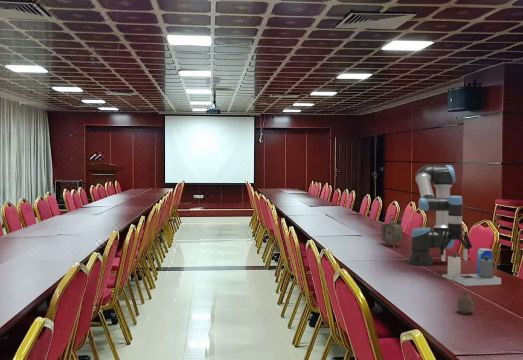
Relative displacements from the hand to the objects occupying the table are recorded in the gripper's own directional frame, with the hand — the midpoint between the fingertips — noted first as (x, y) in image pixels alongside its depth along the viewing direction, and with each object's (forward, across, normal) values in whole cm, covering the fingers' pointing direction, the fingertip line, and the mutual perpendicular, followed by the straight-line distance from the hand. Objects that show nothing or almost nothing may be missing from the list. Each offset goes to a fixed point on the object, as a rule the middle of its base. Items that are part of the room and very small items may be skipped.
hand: (454, 260), depth 277 cm
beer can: (+11, +21, +4) cm, 24 cm away
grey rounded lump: (+12, -29, -56) cm, 65 cm away
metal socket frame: (+11, +7, -11) cm, 17 cm away
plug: (+10, 0, 0) cm, 10 cm away
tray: (+11, 0, 0) cm, 11 cm away
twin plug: (+10, +12, -11) cm, 19 cm away
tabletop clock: (+9, +11, +106) cm, 107 cm away
